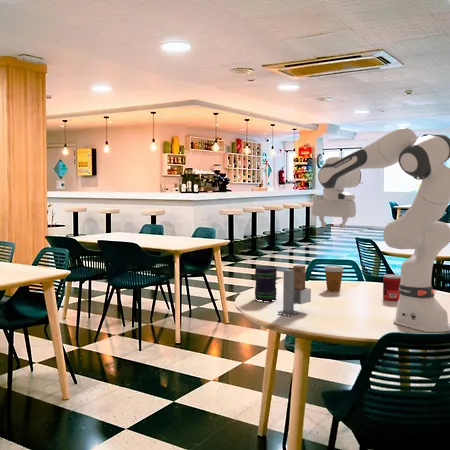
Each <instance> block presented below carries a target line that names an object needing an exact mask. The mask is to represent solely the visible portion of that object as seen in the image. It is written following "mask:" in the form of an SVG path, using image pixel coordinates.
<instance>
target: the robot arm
mask: <svg viewBox="0 0 450 450" xmlns="http://www.w3.org/2000/svg"><path fill="white" fill-rule="evenodd" d="M449 159H450V137H448V135H445V134H438V133H437V134H436V133H434V134H432V133H431V134H429V133H428V134H427V133H425V134H423V135H422V136H421V137H419V136H417V135H416V133H415V132H414V131H413V130H412V129H411V128H409V127H399V128H397V129H395V130H392V131H390V132H388V133H386V134H384V135H383V136H382V137H379V138H378V139H376V140H375V141H373V142H371V143H370V144H367V145H366V146H364V147H362V148H360V149H358V150H356V151H354V152H352V153H350V154H348V155H346V156H344V157H341V156H334V157H333V156H332V157H328V158H327V159H325V162H324V164H323V165H322V166H321V168H320V169H319V170H318V173H317V177H318V178H317V179H318V182H319V184H320V185H321V186H322V187H323V189H322V194H316V195H315V196H313V199H312V207H311V214H312V216H314V217H318V220H319V222H320V224H321V225H320V226H321V227H323V228H325V227H327V222H325V217H330V218H332V217H333V218H334V217H335V218H341V219H342V220H341V221H342V222H341V223H340V224H339V228H340V229H345V228H346V223H347V221H348V219H350V218H355V216H356V214H357V208H356V207H357V206H356V203H355V198H356V197H355V194H354V193H351V192H348V191H345V188H346V189H347V188H349V189H350V188H356V187H358V186H359V184H360V182H361V180H362V172H361V171H362V170H365V169H384V168H388V167H391V166H393V165H395V164H397V163H398V164H399V167H400V168H401V170H402V171H403V172H404V173H405V174H407V175H409V177H412V178H414V179H415V180H419V181H420V180H421V183H420V186H419V188H418V191H417V193H416V196H415V197H414V200H413V201H412V204H411V205H410V207H409V208H408V209H407V210H406V211H405V212H404V213H403V214H402V215H401V216H399V217H398V218H396V219H394V220H393V221H391V222H389V223H387V224H386V225H385V226H384V229H383V232H382V234H383V236H382V237H383V241H384V243H385V244H386V245H387V247H388V248H392V249H398V250H414V251H413V253H412V254H411V256H410V257H409V258H407V259H405V260H404V261H403V262H402V263H401V265H400V276H401V283H400V284H399V293H400V297H399V300H398V301H397V304H396V310H395V311H396V312H395V318H394V320H393V324H395V325H399V326H403V327H407V328H410V329H413V330H416V331H420V332H424V333H444V332H449V331H450V323H449V316H448V312H447V310H446V309H445V308H444V307H443V306H442V305H441V303H440V302H439V301H438V300H437V299H436V298H435V294H437V292H436V291H437V289H433V286H432V275H433V274H432V273H433V266H434V263H435V260H436V258H437V257H438V255H439V253H440V252H441V251H442V250H443V249H444V248H446V247H447V246H448V245H449V244H450V226H449V224H448V223H447V222H444V221H439V220H440V219H442V217H443V216H444V214H445V212H446V210H447V208H448V204H449V203H450V167H448V166H446V165H445V164H444V163H445V162H447V161H448V160H449Z"/></svg>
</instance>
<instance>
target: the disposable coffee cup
mask: <svg viewBox="0 0 450 450" xmlns="http://www.w3.org/2000/svg"><path fill="white" fill-rule="evenodd" d="M323 270H324V272H325V283H326V290H327V291H328V292H341V285H342V281H343V280H342V279H343V272H344V266H342V265H340V264H339V265H338V264H337V265H336V264H328V265H325V266H324V268H323Z"/></svg>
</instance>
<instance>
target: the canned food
mask: <svg viewBox="0 0 450 450" xmlns="http://www.w3.org/2000/svg"><path fill="white" fill-rule="evenodd" d="M382 282H383V283H382V285H383V287H382V298H383V300H385V301H389V302H398V300H399V297H400V293H399V284H400V283H401V274H400V275H399V274H391V273H388V274H387V273H386V274H384V275H383V279H382Z"/></svg>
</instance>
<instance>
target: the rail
mask: <svg viewBox="0 0 450 450" xmlns="http://www.w3.org/2000/svg"><path fill="white" fill-rule="evenodd" d="M292 268H293V269H292V270H294V289H295V290H305V288H306V265H302V264H297V265H293V266H292Z"/></svg>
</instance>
